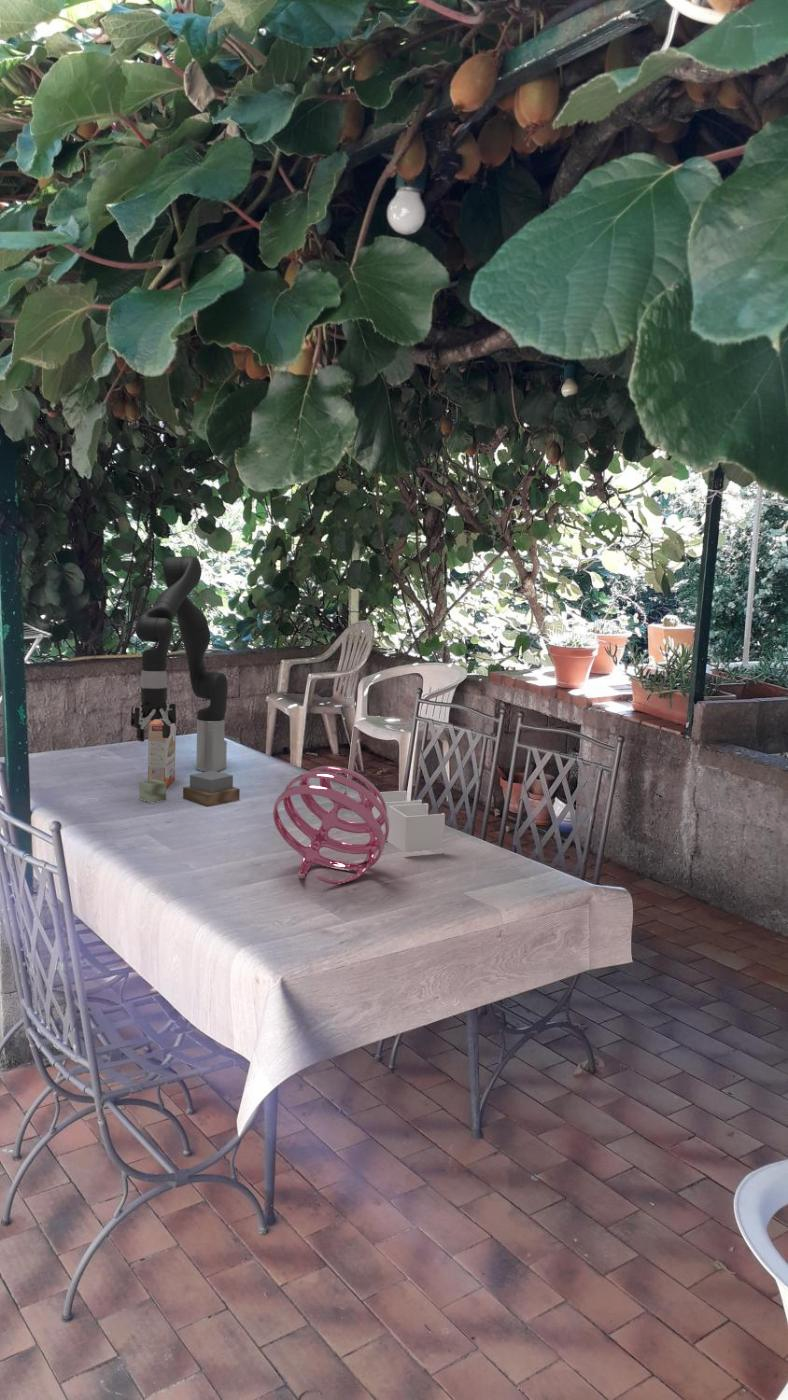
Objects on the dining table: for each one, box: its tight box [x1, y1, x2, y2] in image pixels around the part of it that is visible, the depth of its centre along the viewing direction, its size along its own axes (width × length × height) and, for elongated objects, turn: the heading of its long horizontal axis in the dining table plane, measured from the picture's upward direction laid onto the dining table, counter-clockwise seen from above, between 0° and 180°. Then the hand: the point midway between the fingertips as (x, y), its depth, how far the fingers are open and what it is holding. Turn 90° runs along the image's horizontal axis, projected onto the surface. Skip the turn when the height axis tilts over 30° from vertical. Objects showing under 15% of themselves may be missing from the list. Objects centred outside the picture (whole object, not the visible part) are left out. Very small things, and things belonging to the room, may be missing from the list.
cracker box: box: [147, 719, 177, 789], centre depth 328 cm, size 14×6×21 cm, turn 179°
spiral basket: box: [272, 765, 389, 885], centre depth 247 cm, size 28×28×27 cm
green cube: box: [139, 779, 167, 804], centre depth 310 cm, size 6×6×6 cm
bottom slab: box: [182, 785, 240, 808], centre depth 314 cm, size 12×12×4 cm
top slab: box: [189, 770, 234, 793], centre depth 313 cm, size 9×9×4 cm
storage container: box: [372, 790, 446, 852], centre depth 278 cm, size 25×11×11 cm, turn 24°
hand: (153, 739), depth 308 cm, fingers open, 8 cm apart
